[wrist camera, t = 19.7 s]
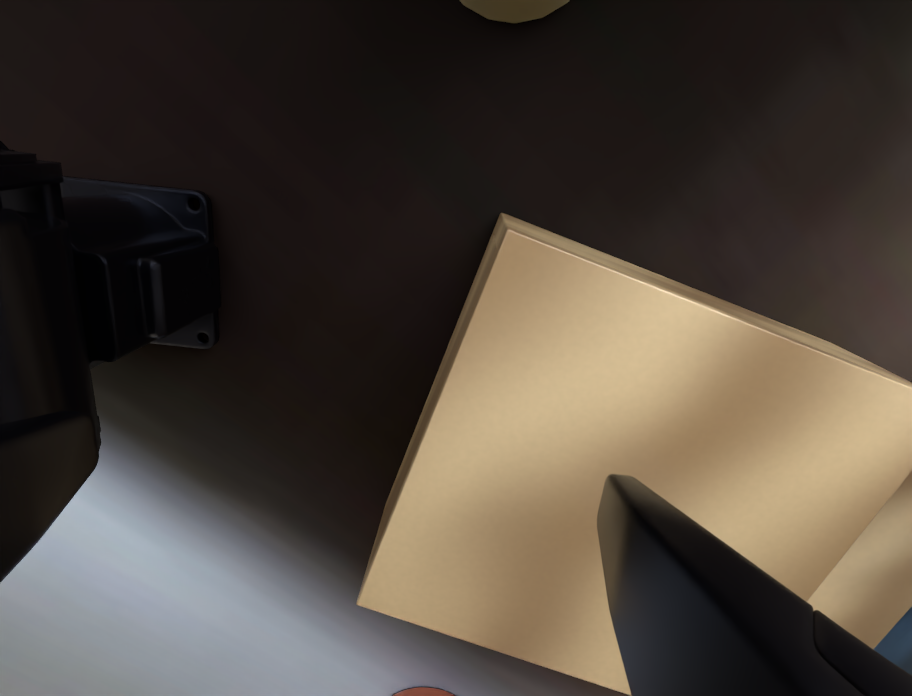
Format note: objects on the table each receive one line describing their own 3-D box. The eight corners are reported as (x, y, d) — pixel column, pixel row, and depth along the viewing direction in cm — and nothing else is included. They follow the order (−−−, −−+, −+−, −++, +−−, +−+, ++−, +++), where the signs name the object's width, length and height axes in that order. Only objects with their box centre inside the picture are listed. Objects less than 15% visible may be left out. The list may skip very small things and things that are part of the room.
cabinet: (831, 342, 21) (963, 408, 15) (659, 598, 26) (710, 723, 20) (500, 212, 20) (507, 228, 14) (385, 503, 25) (355, 605, 19)
